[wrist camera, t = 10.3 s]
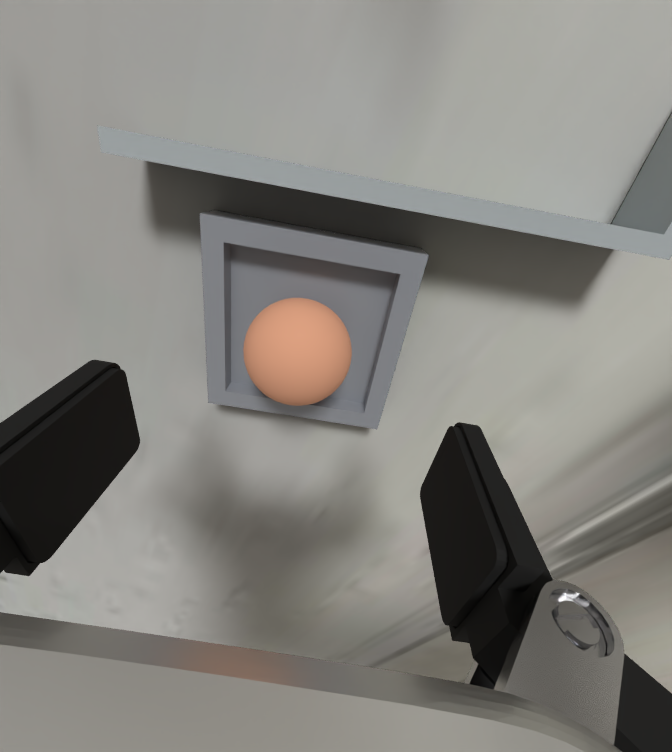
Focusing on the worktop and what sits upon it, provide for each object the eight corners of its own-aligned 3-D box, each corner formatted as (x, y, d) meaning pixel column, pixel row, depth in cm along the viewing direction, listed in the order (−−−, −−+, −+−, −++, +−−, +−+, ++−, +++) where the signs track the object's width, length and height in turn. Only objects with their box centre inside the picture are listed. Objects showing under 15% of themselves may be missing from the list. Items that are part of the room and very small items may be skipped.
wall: (706, 88, 13) (799, 64, 10) (616, 246, 15) (669, 259, 13) (124, -38, 12) (58, -101, 9) (146, 157, 14) (101, 152, 12)
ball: (361, 294, 16) (361, 334, 12) (343, 378, 19) (339, 436, 15) (261, 276, 16) (226, 310, 12) (257, 363, 19) (227, 417, 14)
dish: (421, 248, 16) (428, 255, 14) (375, 411, 21) (377, 429, 19) (214, 210, 15) (199, 213, 14) (219, 386, 20) (208, 402, 19)
